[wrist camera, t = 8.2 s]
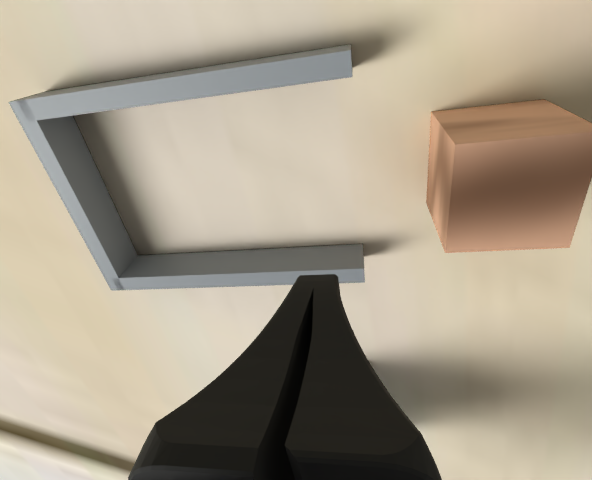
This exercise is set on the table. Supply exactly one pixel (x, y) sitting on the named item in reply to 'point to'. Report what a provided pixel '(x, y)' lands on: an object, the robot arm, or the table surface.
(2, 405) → the table surface
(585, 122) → the cube
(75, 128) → the grey u-shaped frame
